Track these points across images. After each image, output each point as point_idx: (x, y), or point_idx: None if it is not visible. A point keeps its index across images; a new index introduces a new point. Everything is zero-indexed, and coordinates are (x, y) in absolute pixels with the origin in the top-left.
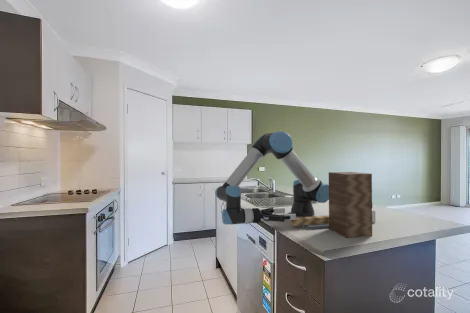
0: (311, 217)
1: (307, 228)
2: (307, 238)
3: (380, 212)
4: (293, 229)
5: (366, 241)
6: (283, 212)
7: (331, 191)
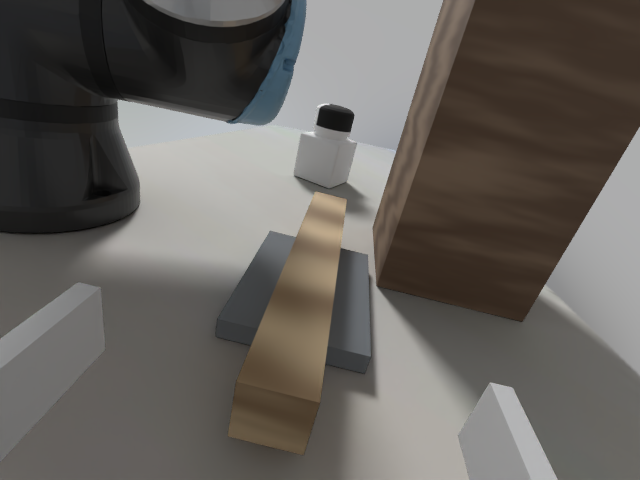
0: (318, 260)
1: (347, 366)
2: None
3: (264, 134)
4: None
5: (551, 300)
6: (88, 357)
7: (494, 51)
